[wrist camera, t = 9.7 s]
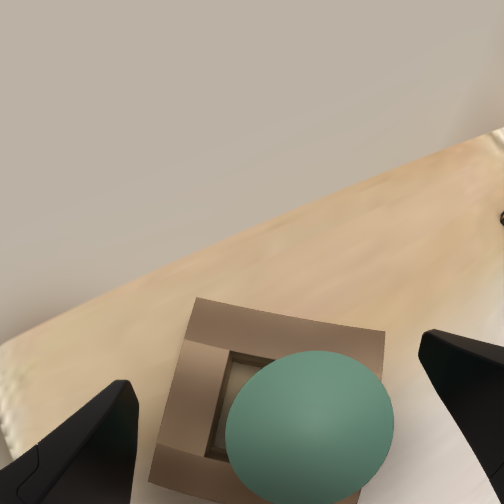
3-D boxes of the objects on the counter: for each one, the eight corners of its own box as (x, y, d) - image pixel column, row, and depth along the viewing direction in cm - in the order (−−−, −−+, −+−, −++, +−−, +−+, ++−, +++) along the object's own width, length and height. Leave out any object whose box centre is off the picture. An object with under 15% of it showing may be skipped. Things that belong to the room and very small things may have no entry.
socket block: (333, 496, 13) (354, 513, 10) (166, 468, 14) (148, 481, 11) (361, 346, 19) (385, 331, 15) (205, 318, 19) (196, 297, 16)
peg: (294, 447, 15) (375, 507, 4) (231, 437, 15) (208, 494, 5) (305, 390, 17) (402, 360, 6) (245, 380, 17) (245, 336, 7)
